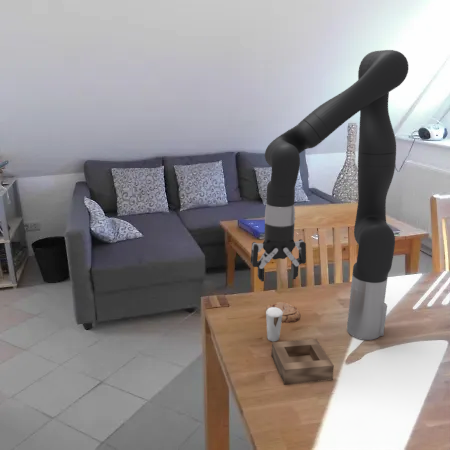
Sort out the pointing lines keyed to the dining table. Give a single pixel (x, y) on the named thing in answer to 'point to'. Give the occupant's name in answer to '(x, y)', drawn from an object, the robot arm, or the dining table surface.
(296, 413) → the dining table surface
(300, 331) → the dining table surface
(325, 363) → the socket block
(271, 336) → the milkshake
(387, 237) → the robot arm
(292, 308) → the cookie
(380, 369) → the dining table surface
